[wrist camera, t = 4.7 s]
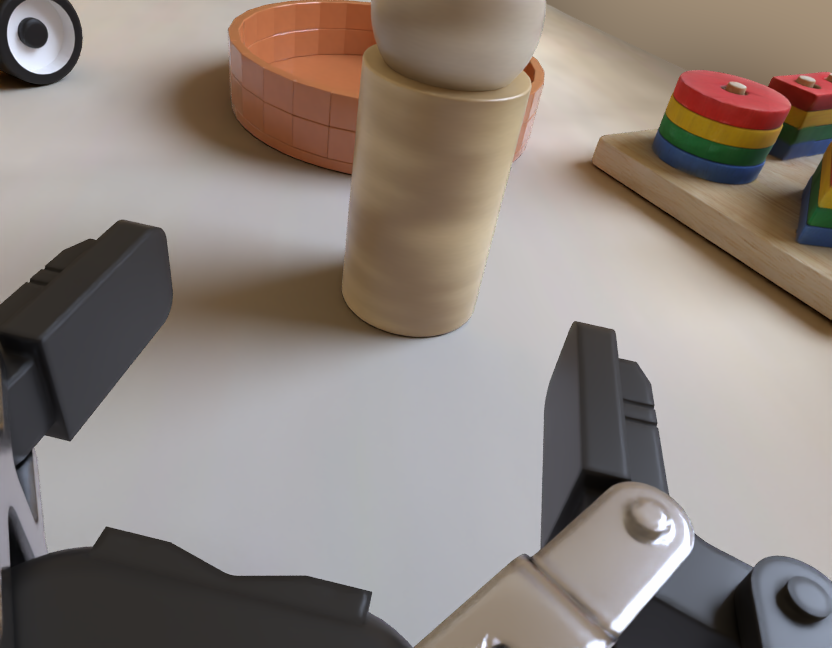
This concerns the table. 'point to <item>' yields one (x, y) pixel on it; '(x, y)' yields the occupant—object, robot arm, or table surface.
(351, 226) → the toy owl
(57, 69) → the orange toy truck
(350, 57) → the pan
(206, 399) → the table surface
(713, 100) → the shape sorter
